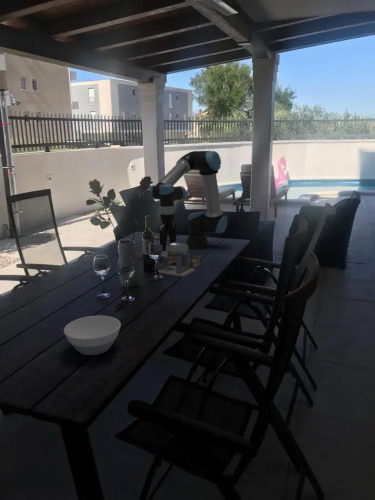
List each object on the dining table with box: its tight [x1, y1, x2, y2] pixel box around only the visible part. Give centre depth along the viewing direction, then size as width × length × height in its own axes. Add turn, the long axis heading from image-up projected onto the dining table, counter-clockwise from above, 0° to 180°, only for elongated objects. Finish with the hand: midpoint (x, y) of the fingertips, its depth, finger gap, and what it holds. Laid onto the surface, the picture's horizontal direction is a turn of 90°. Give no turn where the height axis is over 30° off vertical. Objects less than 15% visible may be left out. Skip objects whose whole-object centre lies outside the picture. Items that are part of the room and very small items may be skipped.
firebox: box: [153, 252, 196, 278], centre depth 238 cm, size 22×12×10 cm, turn 60°
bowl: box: [63, 315, 122, 356], centre depth 151 cm, size 20×20×8 cm
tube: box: [156, 239, 189, 256], centre depth 236 cm, size 22×6×6 cm, turn 60°
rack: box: [168, 253, 201, 269], centre depth 251 cm, size 19×9×4 cm, turn 60°
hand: (168, 255), depth 237 cm, fingers closed on tube, 6 cm apart
